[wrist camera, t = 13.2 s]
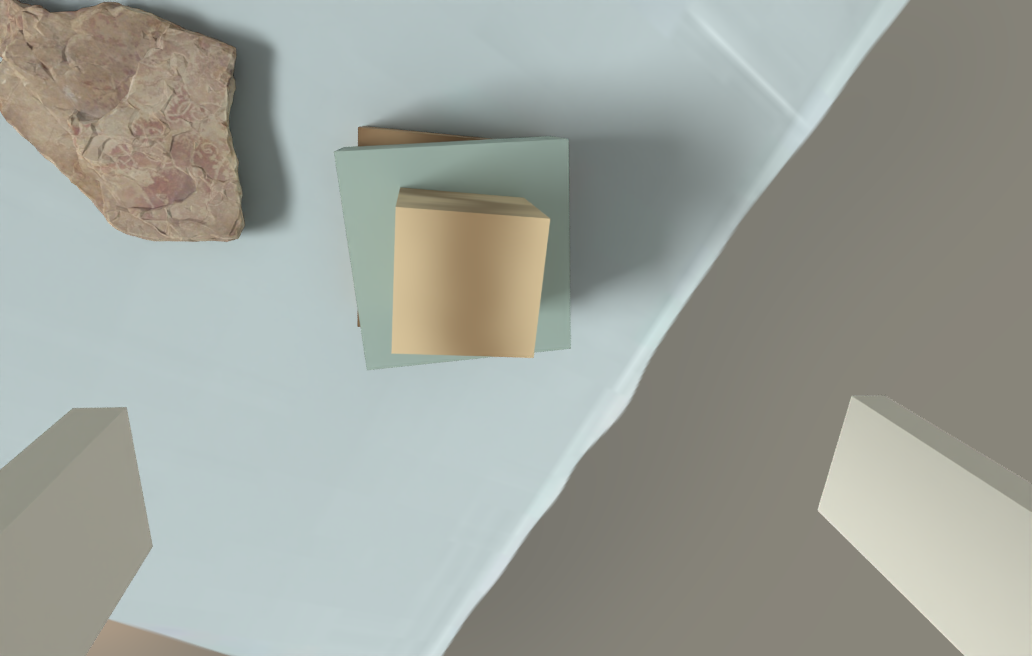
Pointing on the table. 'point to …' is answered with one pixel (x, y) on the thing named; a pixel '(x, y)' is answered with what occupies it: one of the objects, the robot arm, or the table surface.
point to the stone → (127, 115)
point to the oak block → (467, 274)
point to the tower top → (456, 168)
